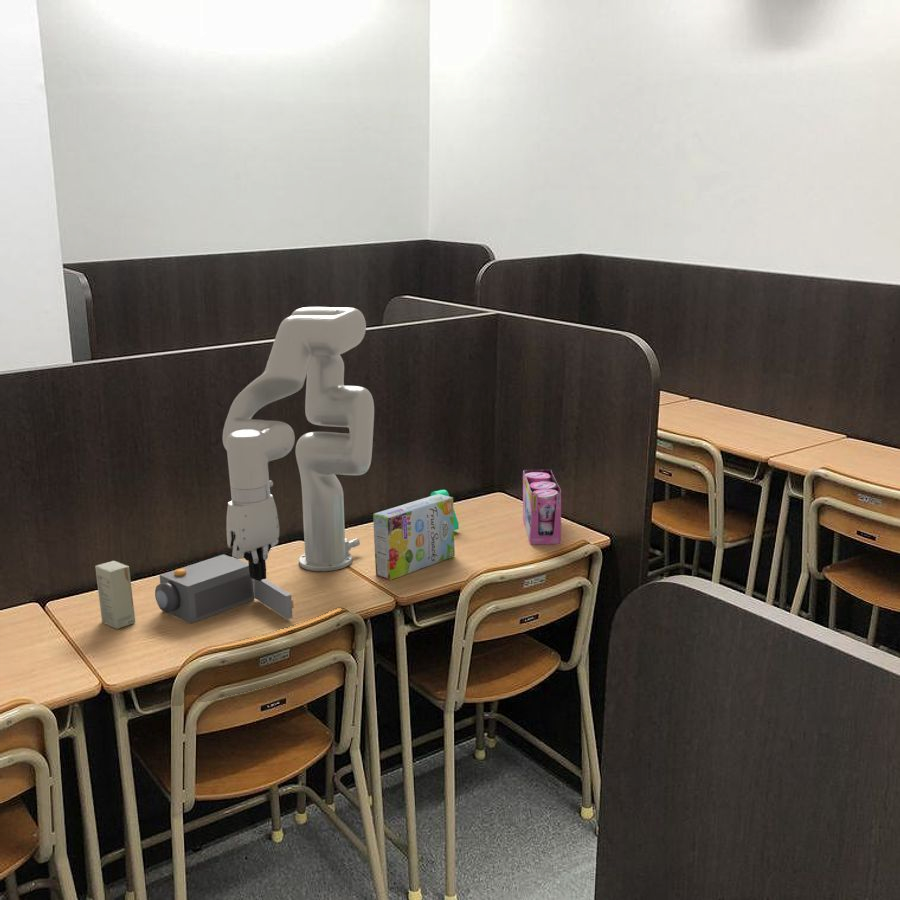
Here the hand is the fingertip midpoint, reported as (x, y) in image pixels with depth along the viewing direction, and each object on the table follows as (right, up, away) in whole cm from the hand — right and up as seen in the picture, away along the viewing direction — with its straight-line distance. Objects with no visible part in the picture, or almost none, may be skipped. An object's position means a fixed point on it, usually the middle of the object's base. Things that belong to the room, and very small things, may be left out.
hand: (258, 578), depth 191 cm
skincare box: (-29, -9, +1) cm, 30 cm away
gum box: (+62, +5, +55) cm, 83 cm away
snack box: (+31, -2, +31) cm, 43 cm away
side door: (+2, -7, +6) cm, 9 cm away
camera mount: (+34, +5, +57) cm, 67 cm away
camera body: (-13, -7, +8) cm, 17 cm away
